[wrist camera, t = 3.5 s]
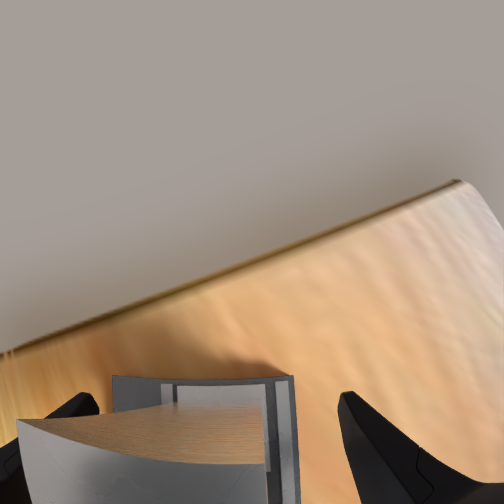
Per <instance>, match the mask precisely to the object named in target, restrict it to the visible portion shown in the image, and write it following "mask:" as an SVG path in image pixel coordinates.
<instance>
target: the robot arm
mask: <svg viewBox="0 0 504 504" xmlns="http://www.w3.org/2000/svg"><path fill="white" fill-rule="evenodd" d="M99 412H100V410H99V407H98V405H97V403H96V402H95V400H94V398H93V396H92V395H91V394H90V393H85V392H80V393H79V394H77V395H76V396H75V397H73V398H72V399H70V400H69V401H68V402H66V403H65V404H64V405H62V406H61V407H59V408H58V409H57V410H55V411H54V412H52V413H51V414H50V415H48V416H47V417H45V418H44V419H54V418H71V417H83V416H93V415H99ZM338 417H339V422H340V427H341V432H342V438H343V443H344V448H345V452H346V455H347V458H348V461H349V465H350V468H351V471H352V474H353V477H354V480H355V484H356V487H357V490H358V493H359V497H360V500H361V503H362V504H504V483H483V482H478V481H475V480H473V479H471V478H469V477H467V476H465V475H463V474H461V473H459V472H458V471H456V470H454V469H452V468H450V467H449V466H447V465H445V464H444V463H442V462H441V461H439V460H437V459H436V458H435V457H433V456H432V455H430V454H429V453H428V452H426V451H425V450H424V449H423V448H421V447H419V445H418V444H416V443H415V442H414V441H413V440H411V439H410V438H409V437H408V436H406V435H405V434H404V433H403V432H401V431H400V430H399V429H398V428H397V427H395V426H394V425H393V424H392V423H391V422H389V421H388V420H387V419H386V418H385V417H383V416H382V415H381V414H380V413H379V412H377V411H376V410H375V409H374V408H373V407H371V406H370V405H369V404H368V403H367V402H366V401H364V400H363V399H362V398H361V397H360V396H359V395H357V394H356V393H355V392H354V391H348V392H343V393H341V395H340V399H339V404H338ZM0 504H32V500H31V497H30V493H29V490H28V486H27V482H26V478H25V473H24V469H23V464H22V458H21V453H20V447H19V440H18V437H17V438H16V439H14V440H13V441H11V442H10V443H8V444H6V445H5V446H3V447H1V448H0Z"/></svg>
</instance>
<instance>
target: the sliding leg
mask: <svg viewBox="0 0 504 504" xmlns="http://www.w3.org/2000/svg"><path fill="white" fill-rule="evenodd" d="M177 395H178V401H177V402H172V403H168V404H163V405H158V406H153V407H148V408H142V409H136V410H130V411H124V412H117V413H110V414H102V415H93V416H83V417H71V418H54V419H16V422H17V432H18V440H19V447H20V453H21V458H22V464H23V469H24V473H25V478H26V482H27V486H28V490H29V493H30V497H31V500H32V504H268V493H267V477H266V472H271V468H270V453H269V438H268V423H267V408H266V393H265V384H249V385H222V386H189V385H184V386H177Z"/></svg>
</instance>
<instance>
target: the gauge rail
mask: <svg viewBox="0 0 504 504" xmlns="http://www.w3.org/2000/svg"><path fill="white" fill-rule="evenodd" d="M249 384H265V393H266V408H267V423H268V438H269V453H270V468H271V472H266V477H267V493H268V504H301V491H300V468H299V449H298V432H297V416H296V402H295V389H294V376H293V375H291V376H280V377H268V378H253V379H232V380H174V379H153V378H138V377H127V376H117V375H112V391H113V413H117V412H124V411H130V410H136V409H142V408H148V407H153V406H158V405H163V404H168V403H172V402H177V401H178V395H177V386H184V385H189V386H222V385H249Z"/></svg>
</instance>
